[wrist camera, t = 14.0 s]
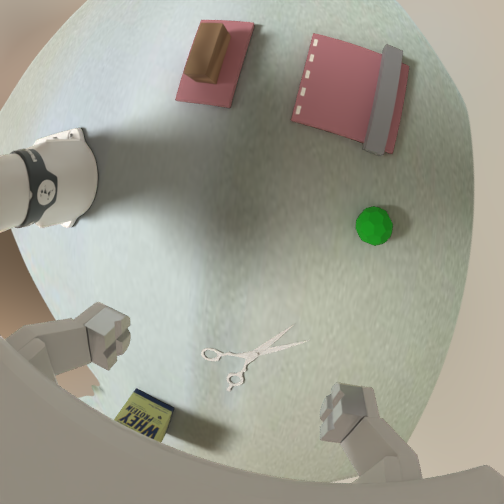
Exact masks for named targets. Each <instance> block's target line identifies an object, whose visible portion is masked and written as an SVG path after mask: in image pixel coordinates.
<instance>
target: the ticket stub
mask: <svg viewBox="0 0 504 504" xmlns="http://www.w3.org/2000/svg"><path fill="white" fill-rule="evenodd" d="M254 26H255V25H254V23H251V22H240V21H224V20H201V22H200V25H199V27H198V30H197V33H196V35H195V38H194V41H193V44H192V47H191V50H190V53H189V56H188V59H187V62H186V65H185V68H184V71H183V75H182V78H181V81H180V85H179V88H178V92H177V95H176V99H175V100H176V101H180V102H190V103H198V104H206V105H213V106H220V107H226V108H230V107H231V103H232V100H233V96H234V92H235V89H236V85H237V82H238V78H239V75H240V71H241V68H242V65H243V61H244V58H245V55H246V51H247V48H248V45H249V42H250V39H251V36H252V33H253V30H254Z"/></svg>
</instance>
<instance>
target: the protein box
mask: <svg viewBox="0 0 504 504" xmlns="http://www.w3.org/2000/svg"><path fill="white" fill-rule="evenodd" d="M173 410H174V408H173V407H171V406H169V405H167V404H165V403H163V402H161V401H159V400H157V399H155V398H153V397H151V396H149V395H147V394H146V393H144V392H142V391H140V390H138V389H135V391H134V392H133V394H132V395H131V396H130V398H129V399H128V401H127V402H126V404H125V405H124V406H123V408H122V409H121V411H120V412H119V413H118V415H117V416H116V418H115V419H114V420H115V421H117V422H119V423H120V424H122V425H124V426H126V427H128V428H130V429H132V430H134V431H136V432H138V433H141V434H143V435H145V436H147V437H149V438H151V439H154V440H156V441H158V442H162V440H163V438H164V436H165V434H166V431H167V429H168V426H169V423H170V420H171V417H172V413H173Z"/></svg>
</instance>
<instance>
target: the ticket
mask: <svg viewBox="0 0 504 504" xmlns="http://www.w3.org/2000/svg"><path fill="white" fill-rule="evenodd" d="M402 56H403V51H402V50H400V49H398V48H395V47H393V46H390V45H388V44H386V46H385V47H384V49H383V52H382V54H379V53H377V52H374V51H371V50H369V49H366V48H363V47H360V46H357V45H354V44H351V43H348V42H345V41H341V40H338V39H334V38H331V37H327V36H323V35H319V34H315V33H313V36H312V40H311V44H310V48H309V52H308V56H307V60H306V64H305V68H304V72H303V75H302V79H301V83H300V87H299V91H298V95H297V99H296V103H295V106H294V110H293V114H292V118H291V121H292V122H296V123H300V124H304V125H307V126H311V127H314V128H318V129H321V130H325V131H328V132H331V133H334V134H337V135H341V136H344V137H347V138H349V139H352V140H355V141H358V142H361V143H364V144H363V148H362V150H365V151H368V152H371V153H373V154H376V155H378V156H381V155H383V154H384V151H385V152H387V153H390V154H393V150H394V146H395V142H396V137H397V133H398V128H399V124H400V119H401V114H402V109H403V103H404V98H405V92H406V86H407V79H408V72H409V66H408V65H406V64H403V63H402Z"/></svg>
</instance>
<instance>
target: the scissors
mask: <svg viewBox="0 0 504 504" xmlns="http://www.w3.org/2000/svg"><path fill="white" fill-rule="evenodd" d="M292 326H293V325H292ZM292 326H290V327H289V328H287V329H286V330H284V331H283V332H281V333H279V334H278V335H276V336H275V337H273V338H272V339H270V340H268V341H267V342H265V343H264V344H262V345H261V346H259V347H258V348H256V349H255V350H254V351H248V352H244V353H238V354H235V353H232V352H227V353H223V352H220V351H218V350H217V349H214V348H205V349H203V350H202V353H201V355H202V357H203V358H204V359H206V360H208V361H218V360H219V358H220V357H221V356H225V355H231V356H237V357H240V358H246V361H245V364H244V368H243V369H242V370H241V371H240V372H237V373H231V372H230V373H229V374H228V376H227V382H228V383H229V384H230V386H229V387H228V388H227V391H230V390H231V387H232V386H239V385H241V384H242V383H243V380H244V378H243V375H242V374H243V372H245V371H246V365H247V364H249V363H250V362H252V361H253V360H254V359H255V358H257V357H258V356H260V355H264V354H268V353H272V352H276V351H279V350H282V349H286V348H289V347H292V346H295V345H298V344H301V343H304V342H306V341H302V342H297V343H292V344H286V345H282V346H276V347H270V346H271V345H272V344H273V343H274V342H276V341H277V340H278V339H279V338H280V337H281V336H282V335H283V334H284V333H286V332H287V331H288V330H289V329H290V328H291V327H292ZM307 341H308V340H307ZM268 347H270V348H268ZM206 350H212V351H215V352H216V353H217V354H218V356H217V357H216V358H207V357H206V356H205V355H204V351H206ZM232 376H239V377H240V379H241V381H240V382H238V383H233V382H231V381H230V380H229V378H230V377H232Z"/></svg>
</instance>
